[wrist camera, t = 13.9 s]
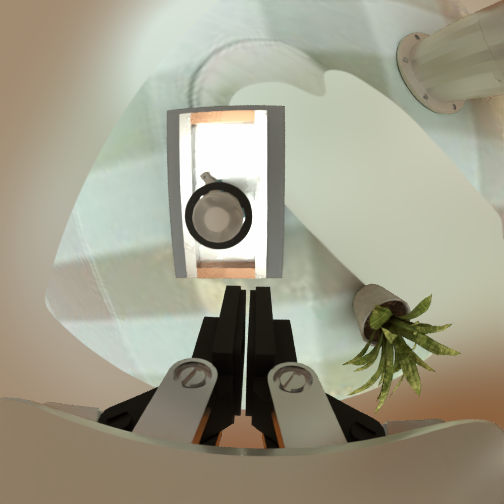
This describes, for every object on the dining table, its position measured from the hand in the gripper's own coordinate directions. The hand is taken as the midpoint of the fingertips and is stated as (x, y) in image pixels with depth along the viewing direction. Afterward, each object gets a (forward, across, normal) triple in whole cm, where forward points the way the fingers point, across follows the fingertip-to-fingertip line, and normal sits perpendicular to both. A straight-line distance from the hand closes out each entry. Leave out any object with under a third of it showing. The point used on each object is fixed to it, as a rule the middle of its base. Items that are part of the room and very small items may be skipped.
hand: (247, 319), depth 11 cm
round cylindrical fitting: (+21, +3, -2) cm, 21 cm away
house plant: (+22, -15, +12) cm, 29 cm away
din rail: (+21, +3, -2) cm, 21 cm away
